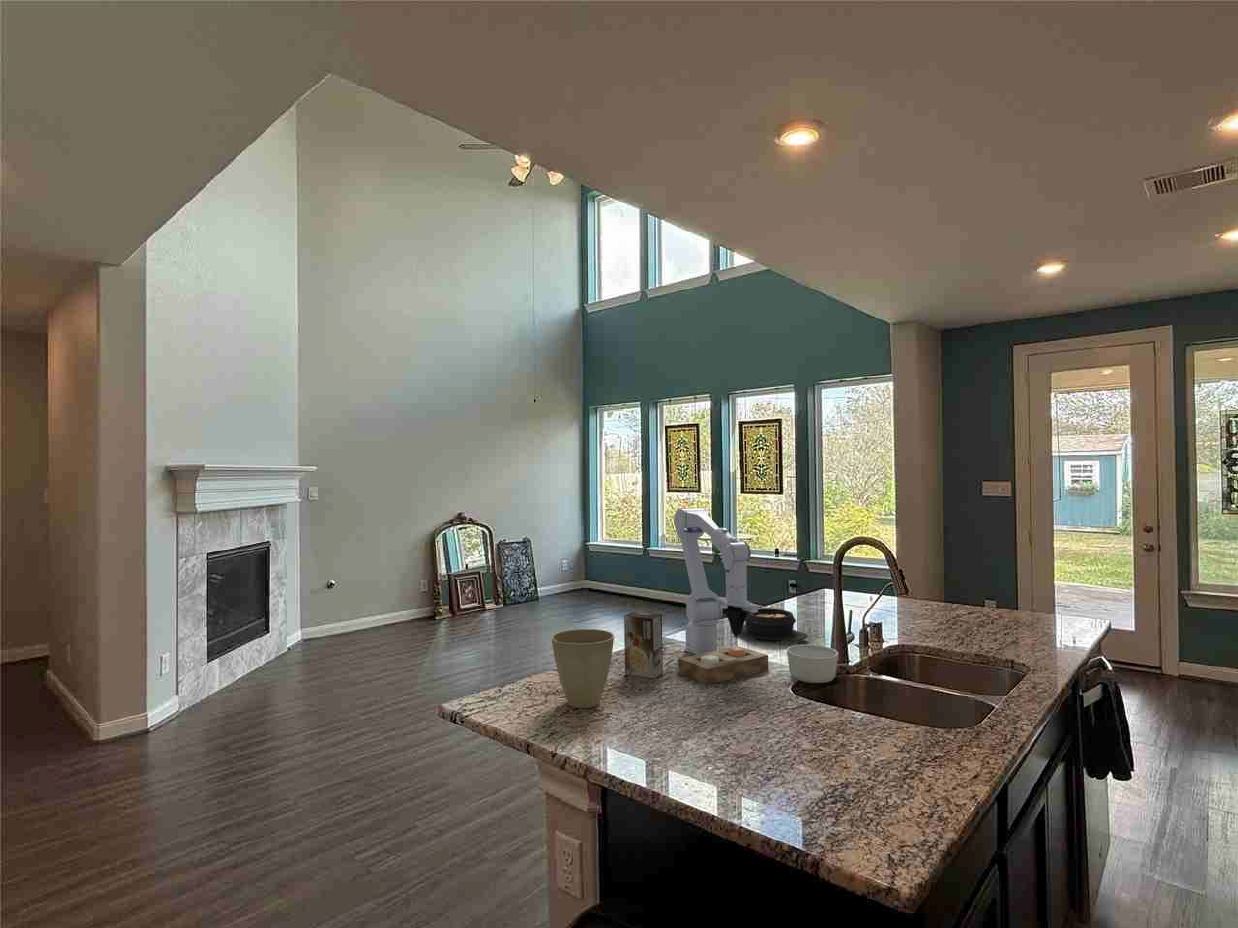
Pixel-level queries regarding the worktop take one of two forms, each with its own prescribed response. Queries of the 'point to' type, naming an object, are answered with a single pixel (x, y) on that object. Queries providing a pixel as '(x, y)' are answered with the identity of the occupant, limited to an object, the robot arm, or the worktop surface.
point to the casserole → (771, 626)
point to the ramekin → (812, 663)
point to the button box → (722, 666)
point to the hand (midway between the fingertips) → (736, 634)
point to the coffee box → (643, 644)
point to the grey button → (709, 659)
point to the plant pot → (583, 664)
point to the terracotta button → (736, 652)
